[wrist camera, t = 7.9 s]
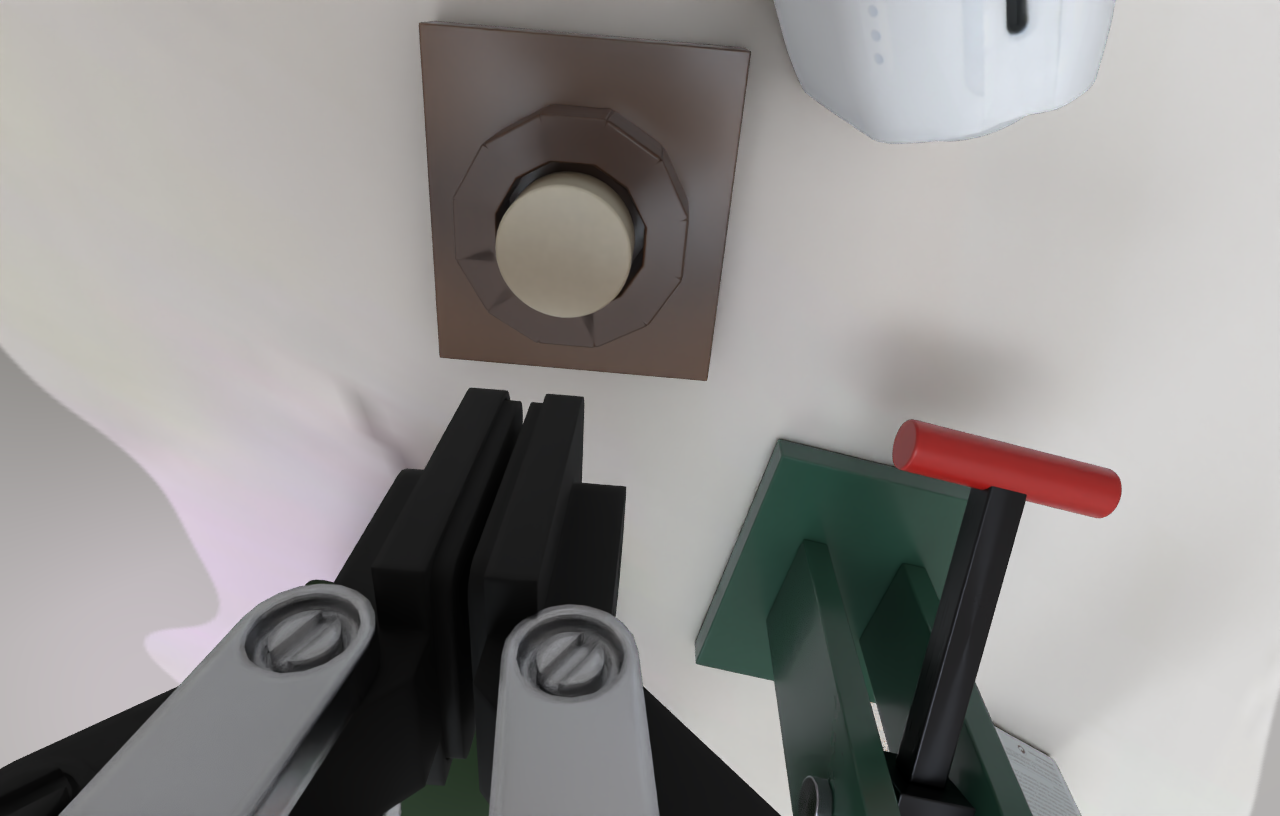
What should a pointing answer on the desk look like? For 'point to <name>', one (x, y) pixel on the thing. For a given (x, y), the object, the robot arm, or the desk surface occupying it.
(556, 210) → the button
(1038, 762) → the small box
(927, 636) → the bracket
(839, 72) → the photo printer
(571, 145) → the button block
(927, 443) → the lever
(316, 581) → the toy figurine
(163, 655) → the desk surface
